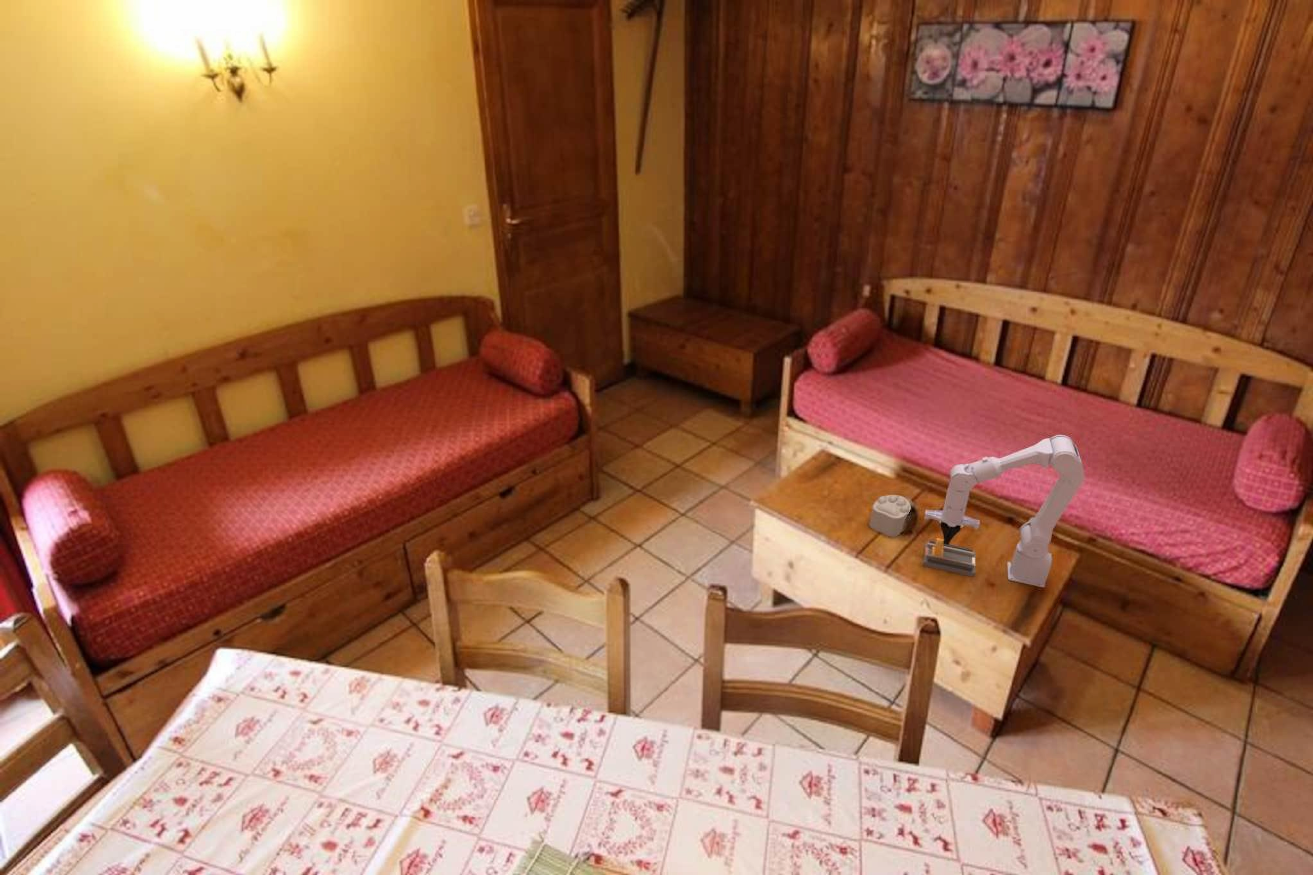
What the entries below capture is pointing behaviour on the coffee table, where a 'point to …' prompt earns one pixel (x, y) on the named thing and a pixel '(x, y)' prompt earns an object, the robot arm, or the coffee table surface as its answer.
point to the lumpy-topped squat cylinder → (889, 514)
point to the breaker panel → (951, 559)
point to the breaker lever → (938, 547)
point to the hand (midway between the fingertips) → (946, 542)
